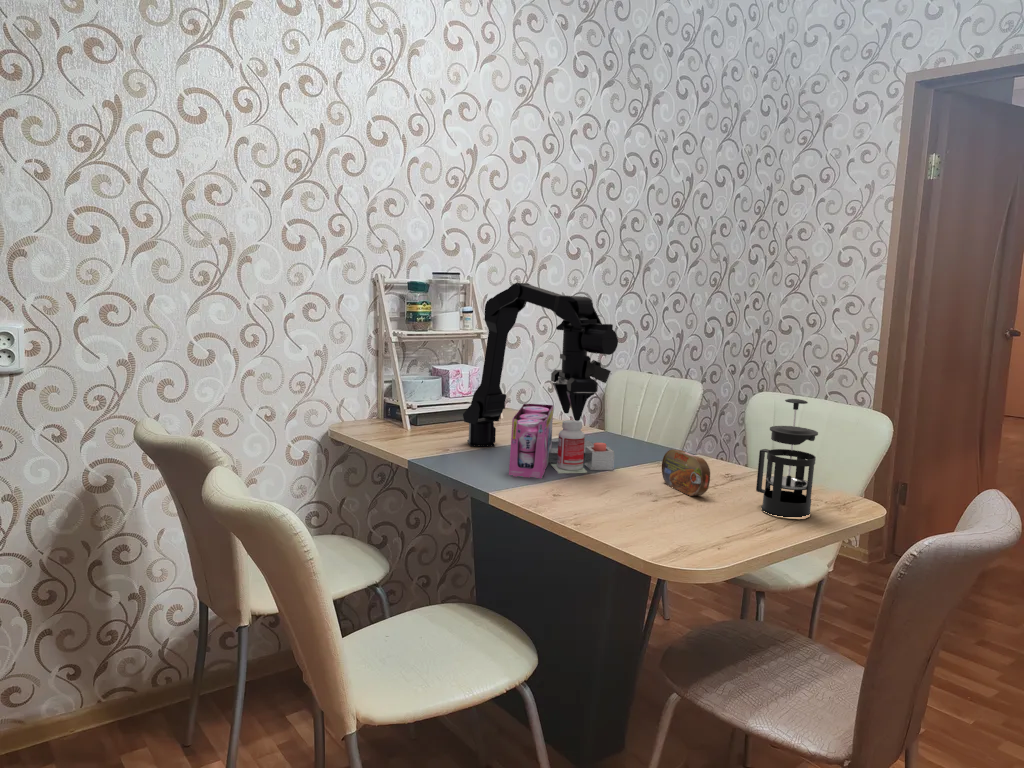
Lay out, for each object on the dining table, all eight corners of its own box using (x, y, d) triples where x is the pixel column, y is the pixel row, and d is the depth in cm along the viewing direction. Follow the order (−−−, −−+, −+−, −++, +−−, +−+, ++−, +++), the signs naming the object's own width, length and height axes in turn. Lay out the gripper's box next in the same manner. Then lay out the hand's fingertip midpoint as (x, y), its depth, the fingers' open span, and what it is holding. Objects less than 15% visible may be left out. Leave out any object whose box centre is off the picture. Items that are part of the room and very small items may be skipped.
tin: (659, 481, 163) (661, 445, 162) (671, 480, 164) (673, 444, 163) (698, 501, 149) (701, 461, 148) (711, 500, 151) (714, 461, 149)
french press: (822, 515, 143) (834, 401, 140) (799, 524, 137) (811, 405, 134) (768, 500, 152) (778, 393, 148) (744, 508, 146) (754, 396, 142)
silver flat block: (542, 463, 175) (542, 453, 175) (530, 450, 188) (530, 441, 188) (604, 462, 179) (605, 452, 178) (588, 450, 191) (589, 440, 191)
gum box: (542, 482, 161) (544, 422, 159) (507, 479, 162) (509, 420, 160) (551, 456, 184) (554, 404, 182) (520, 454, 185) (523, 402, 183)
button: (595, 457, 172) (596, 445, 171) (591, 454, 174) (592, 442, 174) (607, 457, 172) (608, 445, 172) (603, 454, 175) (604, 442, 175)
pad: (558, 473, 167) (558, 471, 167) (550, 465, 173) (550, 464, 173) (587, 472, 168) (587, 471, 168) (578, 465, 175) (578, 463, 175)
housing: (591, 470, 170) (592, 451, 170) (584, 464, 176) (585, 446, 175) (613, 470, 172) (614, 451, 171) (605, 464, 177) (606, 446, 176)
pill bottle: (588, 468, 171) (590, 422, 169) (571, 472, 166) (573, 425, 165) (569, 462, 175) (571, 418, 173) (551, 466, 171) (553, 421, 169)
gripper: (621, 355, 159) (617, 424, 161) (595, 347, 177) (592, 409, 179) (573, 354, 157) (569, 424, 159) (551, 346, 175) (549, 409, 177)
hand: (571, 416), depth 169 cm, fingers open, 9 cm apart
